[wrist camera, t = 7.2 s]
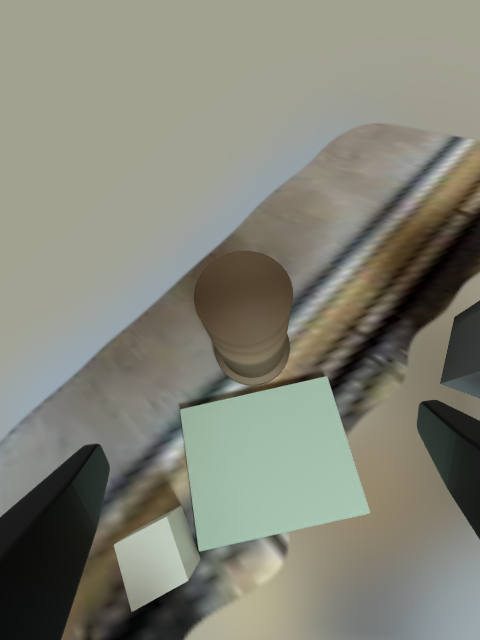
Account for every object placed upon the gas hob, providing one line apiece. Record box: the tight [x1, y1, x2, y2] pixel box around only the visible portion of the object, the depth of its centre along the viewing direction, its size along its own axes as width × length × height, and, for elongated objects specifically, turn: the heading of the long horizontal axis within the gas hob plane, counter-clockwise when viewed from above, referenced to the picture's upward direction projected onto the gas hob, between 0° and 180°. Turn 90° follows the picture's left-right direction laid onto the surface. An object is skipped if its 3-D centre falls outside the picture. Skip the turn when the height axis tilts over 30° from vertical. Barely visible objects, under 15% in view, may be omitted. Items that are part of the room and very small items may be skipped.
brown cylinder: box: [194, 251, 293, 385], centre depth 18 cm, size 5×5×9 cm
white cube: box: [114, 506, 200, 612], centre depth 17 cm, size 3×3×3 cm
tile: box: [180, 376, 370, 551], centre depth 19 cm, size 8×10×1 cm
